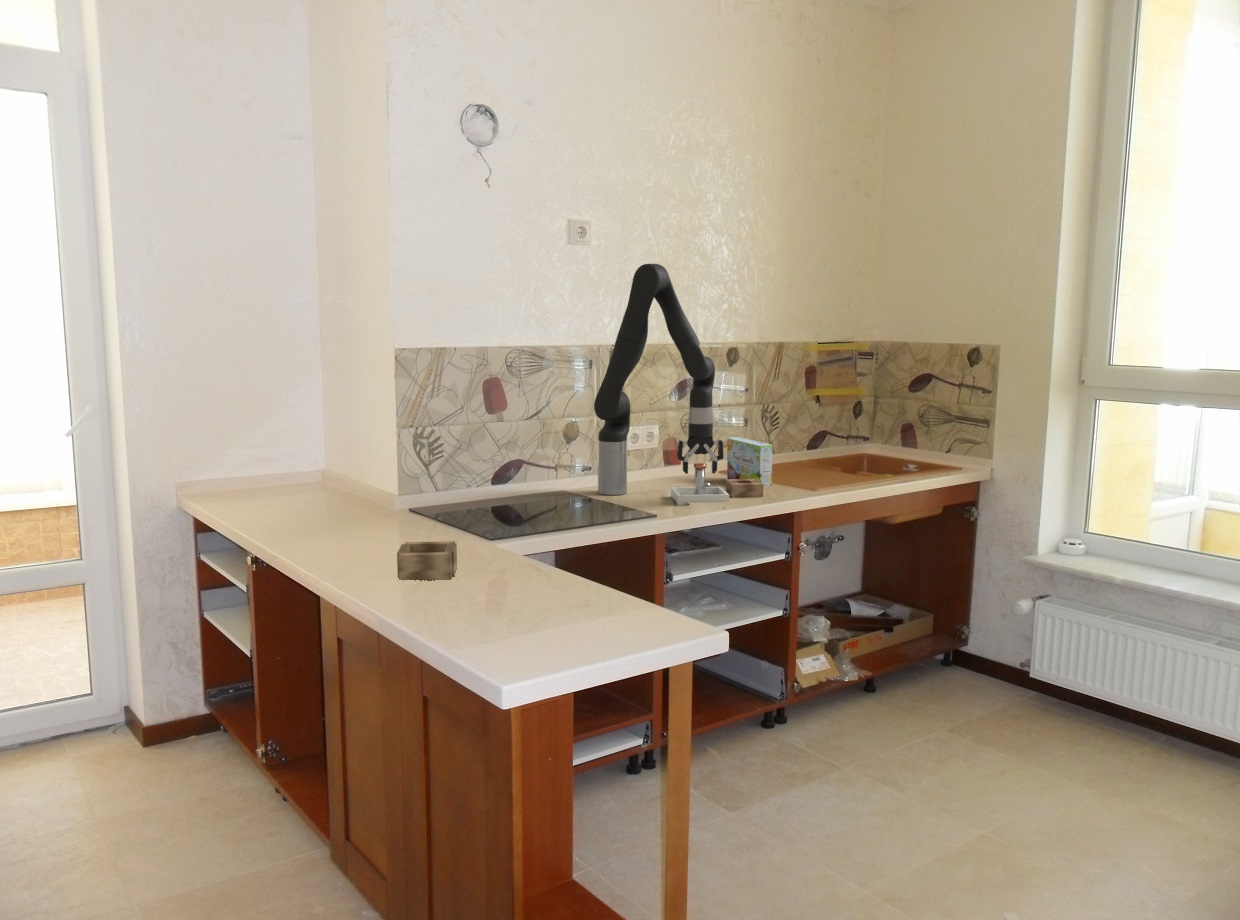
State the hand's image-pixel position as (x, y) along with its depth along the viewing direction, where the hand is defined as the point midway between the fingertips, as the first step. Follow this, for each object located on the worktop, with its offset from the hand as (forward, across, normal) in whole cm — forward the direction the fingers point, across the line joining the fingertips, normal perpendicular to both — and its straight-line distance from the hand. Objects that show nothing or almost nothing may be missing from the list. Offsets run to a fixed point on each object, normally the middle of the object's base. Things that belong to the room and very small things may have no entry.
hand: (699, 473), depth 299 cm
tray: (+9, 0, 0) cm, 9 cm away
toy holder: (+9, -75, -84) cm, 113 cm away
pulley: (+9, +4, +10) cm, 14 cm away
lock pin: (+8, 0, 0) cm, 8 cm away
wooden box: (+9, +15, +4) cm, 18 cm away
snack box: (+9, +22, +28) cm, 37 cm away
